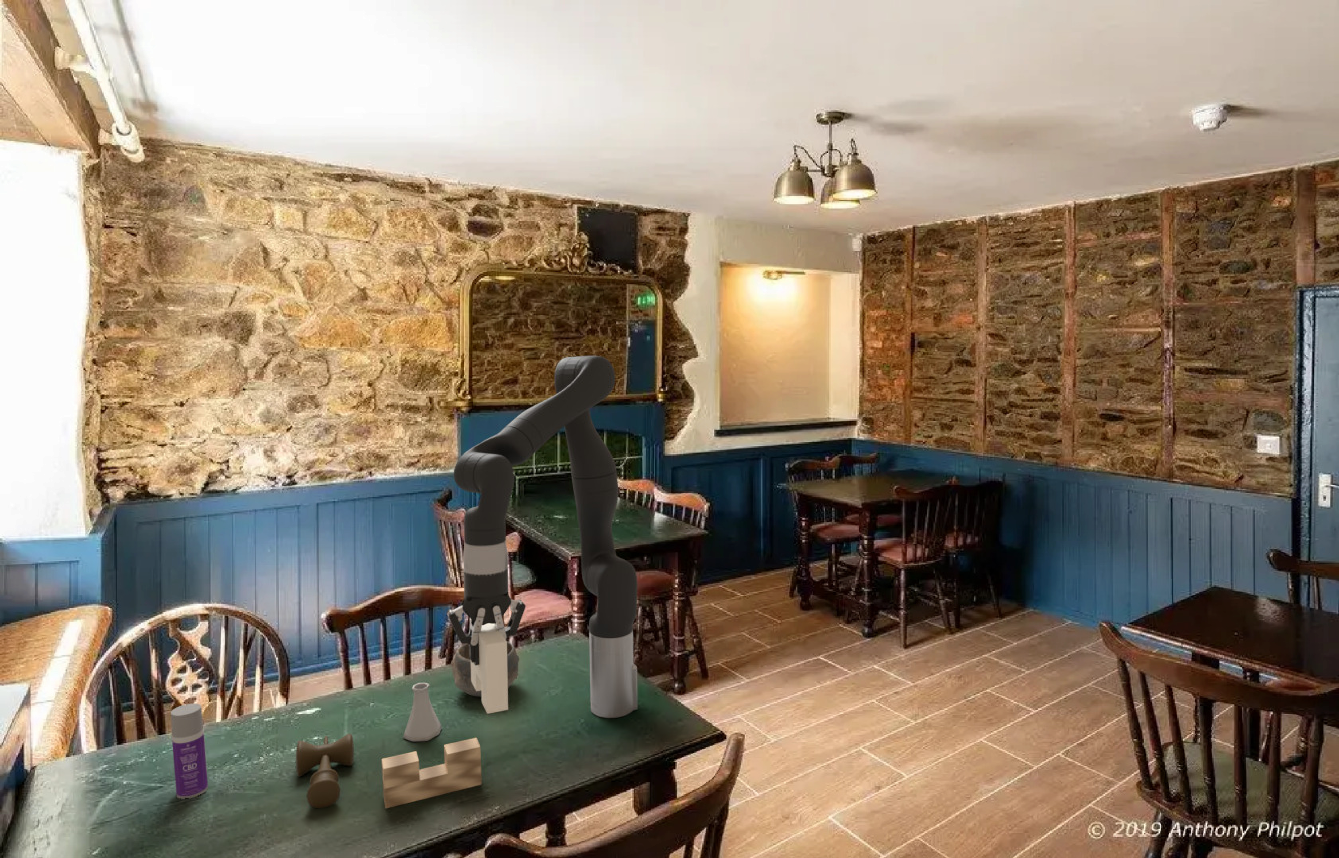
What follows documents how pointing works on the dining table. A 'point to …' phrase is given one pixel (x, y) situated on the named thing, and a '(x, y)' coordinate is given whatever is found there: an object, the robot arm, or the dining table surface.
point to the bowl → (463, 668)
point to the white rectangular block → (491, 669)
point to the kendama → (324, 768)
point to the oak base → (431, 774)
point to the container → (189, 751)
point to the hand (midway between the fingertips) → (487, 661)
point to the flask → (422, 716)
